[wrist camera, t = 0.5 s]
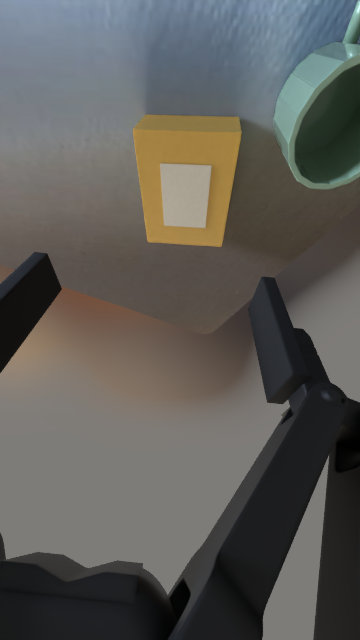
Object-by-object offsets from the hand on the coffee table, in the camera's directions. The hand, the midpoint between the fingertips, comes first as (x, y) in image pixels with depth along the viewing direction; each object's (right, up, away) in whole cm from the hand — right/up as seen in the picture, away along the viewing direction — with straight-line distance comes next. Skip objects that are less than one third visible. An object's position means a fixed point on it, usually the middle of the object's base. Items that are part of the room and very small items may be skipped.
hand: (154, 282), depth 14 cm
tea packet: (+3, +13, +10) cm, 17 cm away
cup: (+13, +16, +3) cm, 21 cm away
